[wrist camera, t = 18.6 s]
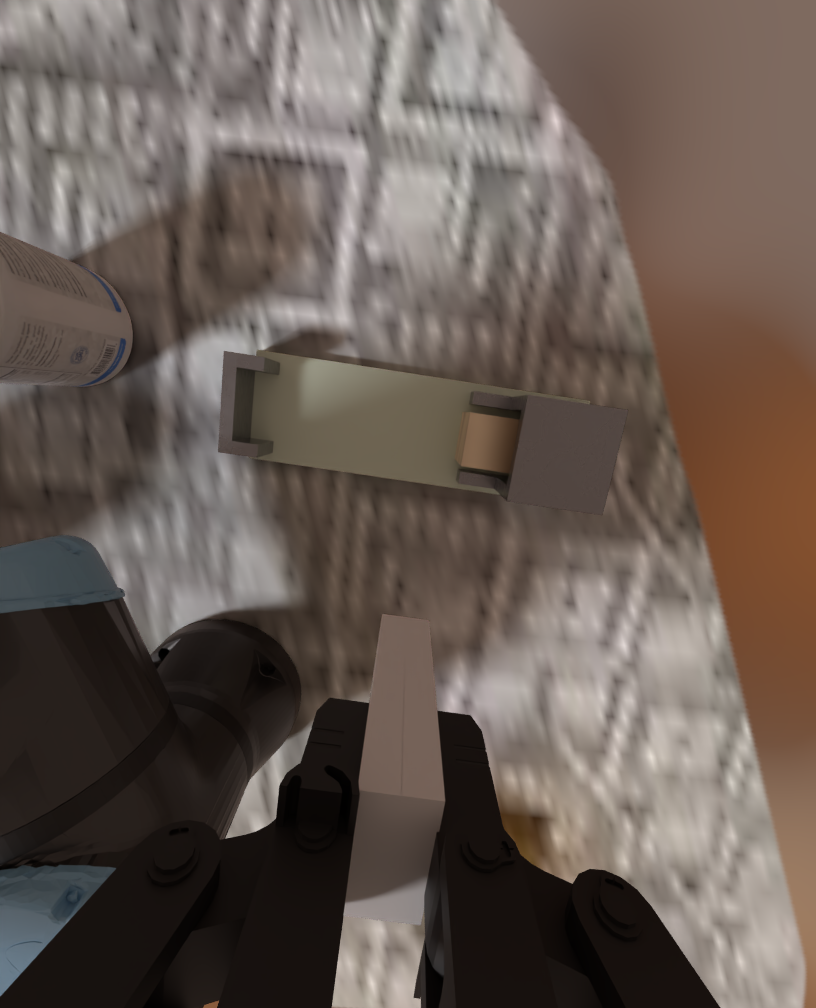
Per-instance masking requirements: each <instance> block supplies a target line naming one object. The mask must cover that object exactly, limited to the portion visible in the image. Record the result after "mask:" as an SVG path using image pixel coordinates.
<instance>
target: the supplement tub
mask: <svg viewBox="0 0 816 1008" xmlns="http://www.w3.org/2000/svg"><path fill="white" fill-rule="evenodd" d="M132 343H133V330H132V323H131V319H130V316H129V313H128V311H127V309H126V306H125V305H124V303H123V301H122V299H121V298H120V296H119V295H118V293H117V292H116V291H115V289H114V288H113V287H112V286H111V285H110V284H109V283H108V282H107V281H106V280H105V279H103V278H102V277H101V276H99V275H98V274H96V273H95V272H93V271H91V270H89V269H87V268H85V267H83V266H80V265H78V264H76V263H73V262H71V261H68V260H66V259H64V258H61V257H59V256H57V255H54V254H52V253H49V252H47V251H45V250H42V249H40V248H37V247H35V246H33V245H30V244H28V243H25V242H23V241H21V240H18V239H16V238H13V237H11V236H9V235H6V234H4V233H1V232H0V383H5V384H26V385H50V386H76V387H87V386H94V385H98V384H101V383H104V382H106V381H108V380H109V379H111V378H113V377H114V376H115V375H116V374H118V373H119V371H120V370H121V369H122V368H123V367H124V365H125V364H126V362H127V360H128V358H129V355H130V352H131V349H132Z"/></svg>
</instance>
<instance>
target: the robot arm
mask: <svg viewBox="0 0 816 1008" xmlns="http://www.w3.org/2000/svg"><path fill="white" fill-rule="evenodd" d="M124 596H125V593H124V590H123V589H121V588H118V587H117V585H116V584H115V582H114V580H113V578H112V576H111V574H110V573H109V571H108V569H107V567H106V565H105V563H104V562H103V560H102V558H101V556H100V554H99V552H98V551H97V550H96V548H95V547H94V546H93V545H92V544H91V543H89V542H88V541H86V540H84V539H82V538H79V537H75V536H69V535H59V536H52V537H47V538H42V539H38V540H33V541H29V542H24V543H19V544H15V545H10V546H6V547H1V548H0V1008H203V1007H204V1005H206V1004H209V1003H212V1002H215V1001H218V1000H219V1003H218V1006H217V1008H331V1007H332V1000H333V992H334V984H335V977H336V969H337V961H338V954H339V946H340V938H341V931H342V923H343V916H349V917H357V918H365V919H373V920H381V921H390V922H398V923H406V924H414V925H421V921H422V916H423V911H424V912H425V940H424V945H423V950H422V955H421V960H420V965H419V970H418V974H417V979H416V986H415V992H414V998H419V999H420V997H421V1008H720V1007H719V1005H718V1004H717V1002H716V1001H715V999H714V998H713V996H712V995H711V993H710V992H709V990H708V989H707V987H706V986H705V985H704V983H703V982H702V980H701V979H700V977H699V976H698V974H697V973H696V971H695V970H694V968H693V967H692V965H691V964H690V962H689V961H688V960H687V958H686V957H685V955H684V954H683V952H682V951H681V949H680V948H679V946H678V945H677V943H676V942H675V940H674V939H673V937H672V936H671V935H670V933H669V932H668V930H667V929H666V927H665V926H664V924H663V923H662V921H661V920H660V918H659V917H658V915H657V914H656V912H655V911H654V910H653V908H652V907H651V905H650V904H649V903H648V902H647V901H646V900H645V898H644V897H643V896H642V895H641V894H640V892H639V891H638V890H637V889H635V888H634V887H633V886H632V885H630V884H629V883H628V882H626V881H625V880H624V879H622V878H621V877H619V876H617V875H614V874H612V873H610V872H607V871H605V870H595V869H589V870H587V871H584V872H582V873H580V874H578V876H577V878H576V879H575V881H574V883H573V884H571V883H569V882H567V881H565V880H563V879H560V878H558V877H556V876H554V875H552V874H549V873H547V872H545V871H543V870H541V869H540V868H538V867H536V866H534V865H533V864H531V863H530V862H529V861H527V860H526V859H525V858H524V857H523V856H521V855H520V853H519V851H518V848H517V846H516V844H515V842H514V841H513V839H512V838H511V837H510V836H509V835H508V834H507V832H506V831H505V830H504V828H503V825H502V820H501V816H500V811H499V807H498V802H497V798H496V793H495V789H494V784H493V780H492V775H491V771H490V767H489V762H488V757H487V752H486V751H485V750H486V748H485V743H484V739H483V734H482V731H481V729H480V728H479V727H478V725H477V724H476V722H475V721H474V720H473V718H472V717H471V716H470V715H465V714H457V713H450V712H442V711H437V702H436V691H435V679H434V668H433V657H432V645H431V634H430V623H429V620H424V619H417V618H409V617H402V616H395V615H388V614H382V618H381V625H380V632H379V638H378V645H377V652H376V659H375V666H374V673H373V679H372V686H371V693H370V700H369V703H364V702H357V701H349V700H342V699H334V698H329V699H328V700H327V701H326V702H325V703H324V704H323V705H322V706H321V707H320V708H319V709H318V710H317V712H316V715H315V719H314V722H313V725H312V729H311V732H310V735H309V738H308V741H307V745H306V748H305V751H304V754H303V757H302V761H301V763H300V764H298V765H297V766H295V767H294V768H293V769H291V770H290V771H289V772H288V773H287V774H286V775H285V777H284V779H283V780H282V782H281V784H280V786H279V796H278V806H277V815H276V819H275V820H274V821H273V822H272V823H270V824H269V825H268V826H266V827H264V828H262V829H260V830H258V831H256V832H253V833H250V834H246V835H242V836H237V837H232V838H227V839H225V837H226V835H227V833H228V830H229V828H230V825H231V823H232V820H233V818H234V816H235V813H236V811H237V808H238V806H239V804H240V801H241V799H242V796H243V794H244V791H245V789H246V787H247V784H248V782H249V780H250V779H251V777H252V776H253V775H254V774H255V773H256V772H257V771H258V770H259V769H260V768H261V767H262V766H263V765H264V764H265V763H266V762H267V761H268V760H269V759H270V757H271V756H272V755H273V754H274V753H275V752H276V751H277V750H278V749H279V748H280V747H281V746H282V744H283V743H284V741H285V740H286V738H287V737H288V735H289V733H290V731H291V729H292V727H293V724H294V721H295V719H296V716H297V713H298V710H299V706H300V701H301V687H300V681H299V677H298V673H297V671H296V668H295V666H294V664H293V662H292V660H291V659H290V657H289V656H288V654H287V653H286V652H285V650H284V649H283V648H282V647H281V646H280V645H279V644H278V643H277V642H276V641H275V640H273V639H272V638H271V637H270V636H268V635H267V634H265V633H264V632H262V631H260V630H258V629H256V628H254V627H252V626H249V625H247V624H243V623H240V622H236V621H230V620H206V621H200V622H196V623H193V624H190V625H188V626H185V627H183V628H181V629H179V630H178V631H176V632H175V633H173V634H172V635H171V636H169V637H168V638H167V639H166V640H165V641H164V642H163V643H162V644H161V645H160V646H159V647H158V648H157V649H156V650H155V651H154V652H153V653H152V654H151V655H150V654H149V652H148V650H147V648H146V646H145V644H144V642H143V639H142V637H141V635H140V633H139V631H138V629H137V627H136V625H135V622H134V620H133V618H132V616H131V614H130V612H129V610H128V608H127V606H126V603H125V601H124V599H123V597H124Z"/></svg>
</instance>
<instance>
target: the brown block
mask: <svg viewBox="0 0 816 1008" xmlns="http://www.w3.org/2000/svg"><path fill="white" fill-rule="evenodd" d="M518 425H519V420H518V419H512V418H505V417H498V416H492V415H485V414H478V413H472V412H462V418H461V424H460V430H459V436H458V442H457V448H456V454H455V460H456V461H457V462H458V463H459V464H460V465H461V466H464V467H471V468H477V469H484V470H491V471H498V472H505V473H509V471H510V466H511V461H512V456H513V451H514V446H515V441H516V435H517V430H518Z"/></svg>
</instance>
